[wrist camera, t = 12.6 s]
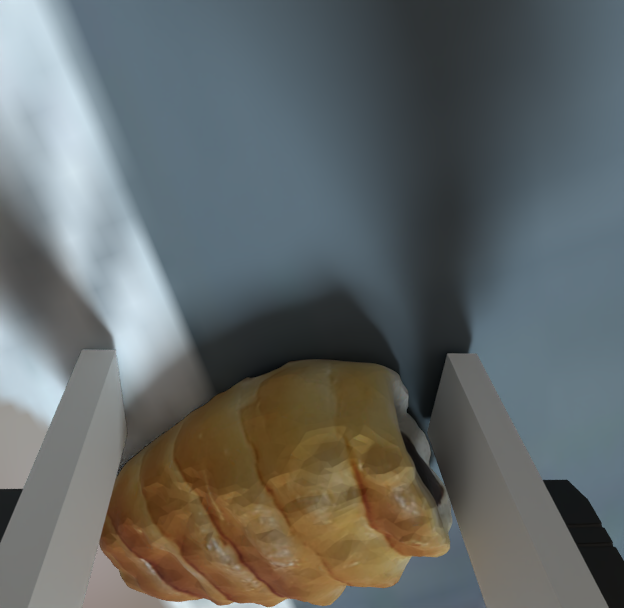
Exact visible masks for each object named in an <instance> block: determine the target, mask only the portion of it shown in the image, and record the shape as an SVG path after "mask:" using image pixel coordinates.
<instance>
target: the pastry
mask: <svg viewBox="0 0 624 608" xmlns="http://www.w3.org/2000/svg"><path fill="white" fill-rule="evenodd" d="M407 407H408V390H407V389H406V387H405V386H404V385H403V383H402V381H401V379H400V375H399V374H398V373H397V372H395V371H393V370H391V369H389V368H387V367H384V366H382V365H379V364H375V363H362V362H346V361H339V360H329V359H308V360H298V361H290V362H288V363H287V364H285V365H284V366H282V367H280V368H278V369H276V370H273V371H271V372H269V373H267V374H264V375H261V376H258V377H254V378H249V377H247V378H245V379H243V380H242V381H240V382H239V383H237V384H236V385H234V386H233V387H231V388H230V389H228V390H227V391H225V392H223V393H220V394H218V395H216V396H215V397H213V398H212V399H211V400H210V401H209V402H208V403H206V404H205V405H203V406H202V407H200V408H198V409H196V410H194V411H192V412H191V413H190V414H188V415H187V416H186V417H185V418H184V419H183V420H182V421H180V422H179V423H178V424H176V425H175V426H173V427H172V428H171V429H169V430H168V431H167V432H165V433H164V434H162V435H161V436H159V437H158V438H157V439H155V440H154V441H153V442H151V443H150V444H149V445H148V446H146V447H145V448H144V449H143V450H141V451H140V452H139V453H138V454H137V455H135V456H134V457H133V458H132V459H130V460H129V461H128V462H127V463H126V464H125V465H124V467H123V468H122V469H121V471H120V472H119V474H118V476H117V477H116V479H115V483H114V487H113V491H112V495H111V499H110V502H109V506H108V510H107V514H106V518H105V522H104V525H103V529H102V533H101V537H100V541H99V544H100V547H101V550H102V551H103V553H104V554H105V555H106V556H107V557H108V558H109V559H110V560H111V562H112V563H113V565H114V566H115V567H116V568H117V569H119V572H120V575H121V577H122V579H123V580H124V582H125V583H126V585H127V586H128V587H130V588H132V589H134V590H136V591H139V592H142V593H145V594H148V595H150V596H153V597H156V598H158V599H161V600H166V601H175V602H182V601H187V600H198V599H202V598H205V599H208V600H211V601H212V602H214V603H215V604H217V605H220V606H221V605H228V604H231V603H233V602H237V603H256V604H261V605H263V606H266V607H273V606H275V605H276V604H278V603H280V602H282V601H284V600H285V599H289V598H290V599H297V600H300V601H303V602H309V603H311V604H315V605H321V606H326V605H331V604H332V603H333V602H334V601H335V600H336V599H337V598H338V597H339V596H340V595H341V594H342V592H343V591H344V589H345V587H346V586H347V585H348V586H356V587H379V588H386V587H390V586H393V585H395V584H396V583H397V582H398V581H399V579H400V577H401V575H402V573H403V571H404V569H405V567H406V565H407V563H408V562H409V560H410V558H411V557H412V556H418V557H421V556H427V557H438V556H442V555H444V554H445V553H447V552H448V550H449V549H450V540H449V535H448V531H449V529H450V527H451V524H452V516H451V504H450V500H449V496H448V492H447V489H446V486H445V485H444V484H443V483H442V481H441V480H440V479H439V477H438V476H437V475H436V473H435V472H434V471H433V470H432V469H431V468H430V466H429V459H430V456H431V450H430V446H429V442H428V441H427V439H426V436H425V434H424V432H423V431H422V430H420V428H419V427H418V425H417V423H416V422H415V420H414V419H413V418H412V417H411V416H410V415H409V414H408V413H407V412H406V410H407Z"/></svg>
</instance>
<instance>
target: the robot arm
mask: <svg viewBox="0 0 624 608" xmlns="http://www.w3.org/2000/svg"><path fill="white" fill-rule="evenodd" d="M427 433H428V436H429V439H430V442H431V445H432V448H433V451H434V454H435V457H436V460H437V463H438V466H439V469H440V472H441V475H442V478H443V481H444V483H445V486H446V489H447V492H448V495H449V498H450V501H451V504H452V507H453V510H454V513H455V516H456V519H457V522H458V525H459V528H460V531H461V534H462V537H463V540H464V543H465V545H466V548H467V551H468V554H469V557H470V560H471V563H472V566H473V569H474V572H475V575H476V578H477V581H478V584H479V587H480V590H481V593H482V596H483V599H484V602H485V605H486V607H487V608H624V561H623V559H622V557H621V555H620V554H619V552H618V550H617V549H616V547H613V544H612V543H613V542H612V540H611V538H610V537H609V535H608V533H607V531H606V530H605V528H602V525H601V524H602V523H601V521H600V519H599V518H598V516H597V514H596V513H595V511H594V509H593V507H592V506H591V504H590V502H589V501H588V499H587V498H586V497H585V496H584V495H583V494H581V493H580V492H579V491H578V490H577V489H576V488H575V487H574V486H573V485H572V484H571V483H570V482H569V481H568V480H542V478H541V476H540V474H539V472H538V471H537V469H536V467H535V465H534V463H533V461H532V459H531V457H530V455H529V453H528V451H527V449H526V447H525V446H524V444H523V442H522V440H521V438H520V436H519V434H518V432H517V430H516V428H515V426H514V424H513V422H512V421H511V419H510V417H509V415H508V413H507V411H506V409H505V407H504V405H503V403H502V401H501V399H500V398H499V396H498V394H497V392H496V390H495V388H494V386H493V384H492V382H491V380H490V378H489V376H488V374H487V373H486V371H485V369H484V367H483V365H482V363H481V361H480V359H479V357H478V355H477V354H457V353H447V357H446V361H445V364H444V368H443V372H442V376H441V380H440V384H439V388H438V392H437V396H436V399H435V403H434V407H433V411H432V415H431V419H430V423H429V427H428V431H427ZM126 437H127V427H126V420H125V412H124V405H123V398H122V391H121V384H120V377H119V369H118V362H117V355H116V350H90V349H82V351H81V353H80V355H79V358H78V360H77V363H76V365H75V367H74V370H73V372H72V374H71V377H70V379H69V382H68V384H67V386H66V389H65V391H64V393H63V396H62V398H61V400H60V403H59V405H58V408H57V410H56V412H55V415H54V417H53V419H52V422H51V424H50V427H49V429H48V431H47V434H46V436H45V438H44V441H43V443H42V446H41V448H40V450H39V453H38V455H37V457H36V460H35V462H34V465H33V467H32V469H31V472H30V474H29V476H28V479H27V481H26V483H25V486H24V488H23V489H0V608H82V606H83V602H84V598H85V595H86V591H87V587H88V583H89V579H90V575H91V571H92V567H93V564H94V560H95V556H96V552H97V549H98V545H99V541H100V537H101V533H102V529H103V525H104V522H105V518H106V514H107V510H108V506H109V502H110V499H111V495H112V491H113V487H114V483H115V479H116V476H117V472H118V468H119V464H120V460H121V456H122V452H123V449H124V445H125V441H126Z"/></svg>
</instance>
